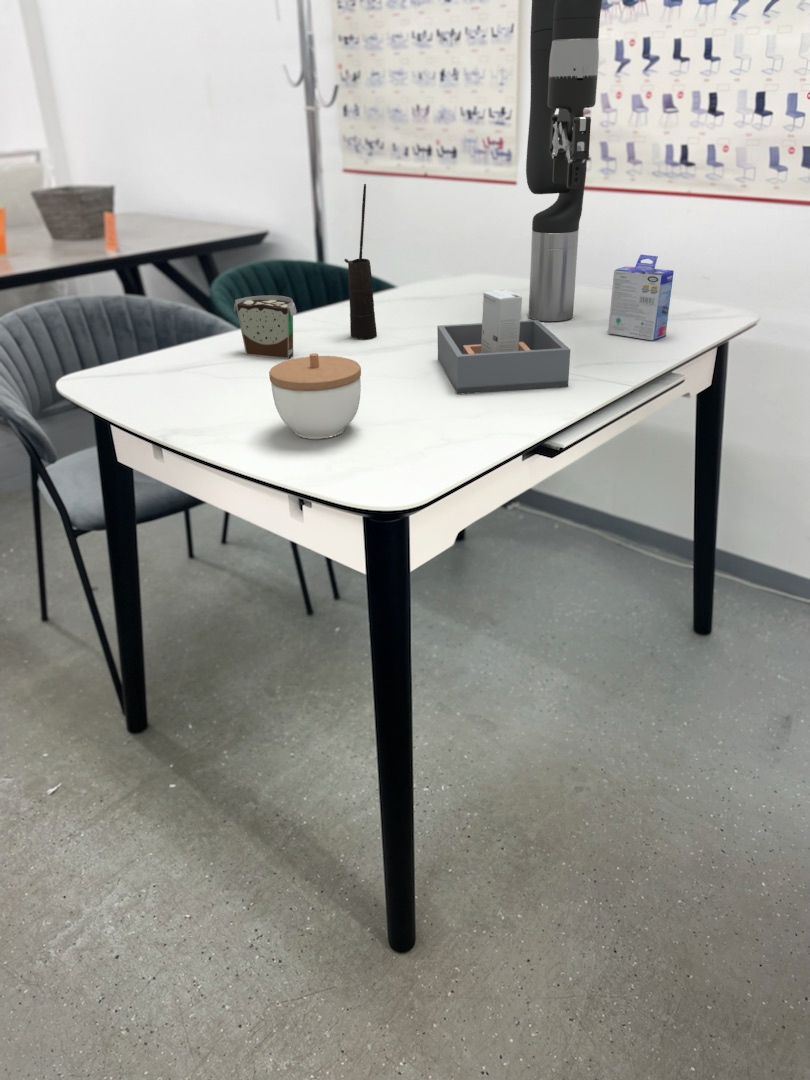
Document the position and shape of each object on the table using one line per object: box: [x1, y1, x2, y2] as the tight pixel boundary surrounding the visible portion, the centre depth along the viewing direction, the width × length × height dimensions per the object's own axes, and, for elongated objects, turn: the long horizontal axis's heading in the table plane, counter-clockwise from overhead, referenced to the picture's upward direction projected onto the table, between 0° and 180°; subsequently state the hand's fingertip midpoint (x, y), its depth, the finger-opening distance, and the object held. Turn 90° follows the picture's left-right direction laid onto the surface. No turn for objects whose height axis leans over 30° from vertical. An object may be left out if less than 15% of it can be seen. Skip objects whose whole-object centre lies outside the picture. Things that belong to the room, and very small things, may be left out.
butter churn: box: [343, 183, 378, 340], centre depth 157 cm, size 9×10×28 cm
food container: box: [233, 295, 298, 360], centre depth 153 cm, size 12×6×10 cm, turn 65°
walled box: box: [436, 319, 571, 395], centre depth 139 cm, size 20×18×6 cm
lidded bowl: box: [268, 352, 362, 440], centre depth 116 cm, size 13×13×11 cm
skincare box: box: [481, 288, 523, 353], centre depth 137 cm, size 6×4×12 cm
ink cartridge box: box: [607, 254, 674, 341], centre depth 155 cm, size 10×6×14 cm, turn 49°
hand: (566, 185), depth 137 cm, fingers open, 8 cm apart
